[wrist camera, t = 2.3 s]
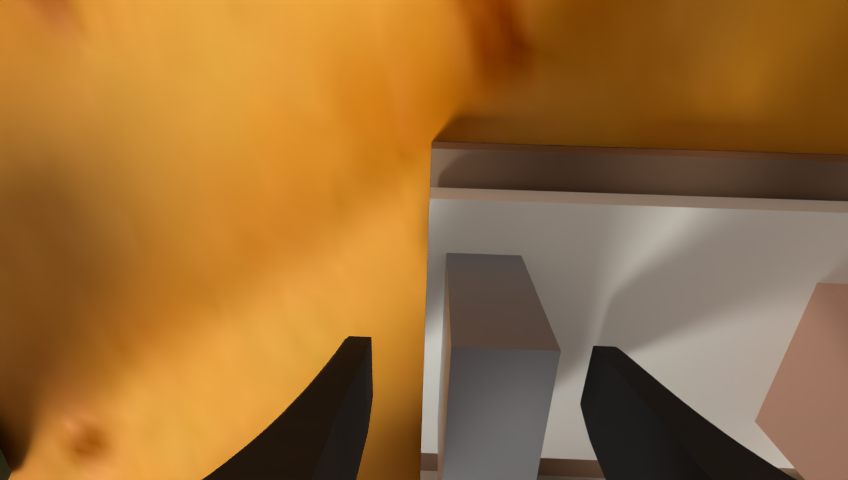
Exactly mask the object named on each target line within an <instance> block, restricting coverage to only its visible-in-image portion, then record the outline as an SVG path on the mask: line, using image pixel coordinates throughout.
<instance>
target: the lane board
mask: <svg viewBox="0 0 848 480" xmlns="http://www.w3.org/2000/svg"><path fill="white" fill-rule="evenodd" d="M430 187H438V188H468V189H497V190H527V191H556V192H586V193H615V194H645V195H674V196H704V197H733V198H763V199H792V200H822V201H848V155H834V154H803V153H772V152H741V151H710V150H680V149H649V148H618V147H587V146H556V145H526V144H495V143H464V142H433V141H432V148H431V177H430ZM778 469H780V470H781V471H783V472H785V473H786V474H788V475H790V476H791V477H793V478H795V479H796V480H805V479H804V478H803V477H802V476H801V475H800V474H799V472H798V471H797V470H796V469H794V468H778ZM420 480H438V454H437V453H421V470H420ZM536 480H606V479H605V477H604V475H603V472H602V470H601V467H600V465H599V462H598V460H580V459H556V458H540V463H539V468H538V474H537V479H536Z"/></svg>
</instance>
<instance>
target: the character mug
mask: <svg viewBox="0 0 848 480" xmlns="http://www.w3.org/2000/svg"><path fill="white" fill-rule="evenodd" d="M10 474H11V470H10V468H9V466H8V464H7V462H6V460H5V458H4V456H3V453H2V451H1V450H0V480H8V479H9V477H10Z"/></svg>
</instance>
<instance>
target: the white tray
mask: <svg viewBox="0 0 848 480" xmlns="http://www.w3.org/2000/svg"><path fill="white" fill-rule="evenodd" d="M817 283H834V284H848V201H822V200H792V199H763V198H733V197H704V196H674V195H645V194H615V193H586V192H556V191H527V190H497V189H468V188H438V187H430V201H429V230H428V260H427V289H426V319H425V348H424V378H423V407H422V437H421V453H437V454H438V480H536V479H537V474H538V468H539V463H540V458H556V459H580V460H597V457H596V455H595V453H594V450H593V448H592V445H591V442H590V440H589V436H588V433H587V429H586V426H585V422H584V418H583V414H582V410H581V406H580V402H581V397H582V393H583V388H584V384H585V379H586V375H587V371H588V366H589V362H590V357H591V353H592V349H593V346H615V347H617V348H619V349H620V350H621V351H623V352H624V353H625V354H626V355H628V356H629V357H630V358H631V359H632V360H634V361H635V362H636V363H637V364H638V365H640V366H641V367H642V368H643V369H644V370H646V371H647V372H648V373H649V374H650V375H652V376H653V377H654V378H655V379H656V380H657V381H659V382H660V383H661V384H662V385H664V386H665V387H666V388H667V389H668V390H670V391H671V392H672V393H673V394H675V395H676V396H677V397H678V398H679V399H681V400H682V401H683V402H684V403H686V404H687V405H688V406H690V407H691V408H692V409H693V410H695V411H696V412H697V413H699V414H700V415H701V416H703V417H704V418H705V419H707V420H708V421H709V422H711V423H712V424H713V425H715V426H716V427H717V428H719V429H720V430H721V431H723V432H724V433H726V434H727V435H728V436H730V437H731V438H733V439H734V440H736V441H737V442H738V443H740V444H741V445H743V446H744V447H746V448H747V449H749V450H750V451H752V452H754V453H755V454H757V455H758V456H760V457H761V458H763V459H764V460H766V461H767V462H769V463H770V464H772V465H773V466H775V467H777V468H794V467H793V465H792V464H791V463H790V462H789V461H788V460H787V458H786V457H785V456H784V455H783V454H782V453H781V451H780V450H779V449H778V448H777V447H776V446H775V444H774V443H773V442H772V441H771V440H770V439H769V437H768V436H767V435H766V434H765V433H764V432H763V430H762V429H761V428H760V427H759V426H758V425H757V423H756V422H755V420H756V418H757V415H758V413H759V411H760V409H761V406H762V404H763V402H764V400H765V398H766V395H767V393H768V391H769V389H770V386H771V384H772V382H773V380H774V378H775V375H776V373H777V371H778V369H779V366H780V364H781V362H782V360H783V358H784V355H785V353H786V351H787V349H788V346H789V344H790V342H791V340H792V338H793V335H794V333H795V331H796V329H797V326H798V324H799V322H800V320H801V318H802V315H803V313H804V311H805V309H806V306H807V304H808V302H809V300H810V298H811V295H812V293H813V291H814V289H815V286H816V284H817ZM794 469H795V468H794Z"/></svg>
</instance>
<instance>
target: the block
mask: <svg viewBox="0 0 848 480" xmlns="http://www.w3.org/2000/svg"><path fill="white" fill-rule="evenodd" d="M755 422H756V423H757V425H758V426H759V427H760V428H761V429H762V430H763V432H764V433H765V434H766V435H767V436H768V437H769V439H770V440H771V441H772V442H773V443H774V444H775V446H776V447H777V448H778V449H779V450H780V451H781V453H782V454H783V455H784V456H785V457H786V458H787V460H788V461H789V462H790V463H791V464H792V465H793V467H794V468H795V469H796V470H797V471H798V472H799V474H800V475H801V476H802V477H803V478H804V479H805V480H848V284H834V283H817V284H816V286H815V289H814V291H813V293H812V295H811V298H810V300H809V302H808V304H807V306H806V309H805V311H804V313H803V315H802V318H801V320H800V322H799V324H798V326H797V329H796V331H795V333H794V335H793V338H792V340H791V342H790V344H789V346H788V349H787V351H786V353H785V355H784V358H783V360H782V362H781V364H780V366H779V369H778V371H777V373H776V375H775V378H774V380H773V382H772V384H771V386H770V389H769V391H768V393H767V395H766V398H765V400H764V402H763V404H762V406H761V409H760V411H759V413H758V415H757V418H756V420H755Z"/></svg>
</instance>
